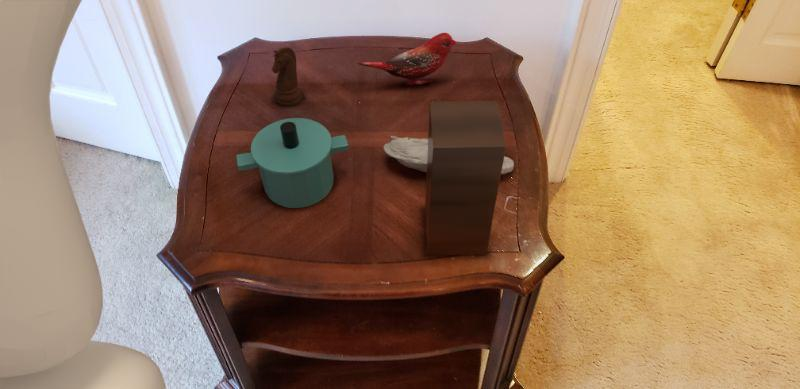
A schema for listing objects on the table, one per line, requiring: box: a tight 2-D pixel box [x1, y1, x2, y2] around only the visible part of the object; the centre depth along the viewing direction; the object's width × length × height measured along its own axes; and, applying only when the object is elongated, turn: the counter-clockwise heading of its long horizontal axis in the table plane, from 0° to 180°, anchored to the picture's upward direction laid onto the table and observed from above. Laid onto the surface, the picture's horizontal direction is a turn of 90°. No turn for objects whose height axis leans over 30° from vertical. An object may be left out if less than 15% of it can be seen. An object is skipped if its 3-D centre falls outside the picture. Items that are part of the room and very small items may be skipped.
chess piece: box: [271, 46, 303, 107], centre depth 95 cm, size 5×5×10 cm
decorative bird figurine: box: [356, 32, 458, 86], centre depth 97 cm, size 3×18×10 cm, turn 102°
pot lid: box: [250, 117, 332, 175], centre depth 78 cm, size 11×11×4 cm
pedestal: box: [424, 100, 507, 256], centre depth 70 cm, size 8×8×20 cm
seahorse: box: [383, 135, 515, 176], centre depth 85 cm, size 5×12×20 cm
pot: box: [236, 134, 349, 209], centre depth 82 cm, size 10×16×8 cm, turn 106°
